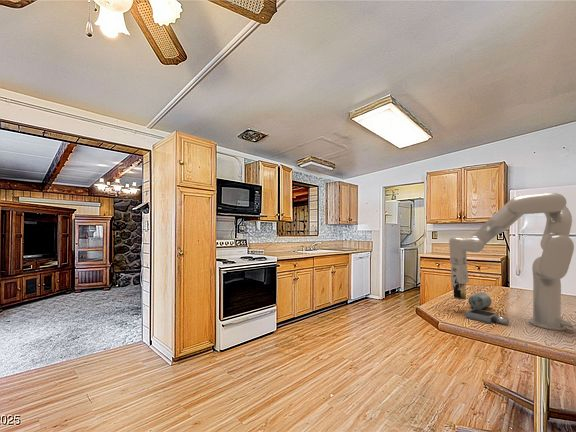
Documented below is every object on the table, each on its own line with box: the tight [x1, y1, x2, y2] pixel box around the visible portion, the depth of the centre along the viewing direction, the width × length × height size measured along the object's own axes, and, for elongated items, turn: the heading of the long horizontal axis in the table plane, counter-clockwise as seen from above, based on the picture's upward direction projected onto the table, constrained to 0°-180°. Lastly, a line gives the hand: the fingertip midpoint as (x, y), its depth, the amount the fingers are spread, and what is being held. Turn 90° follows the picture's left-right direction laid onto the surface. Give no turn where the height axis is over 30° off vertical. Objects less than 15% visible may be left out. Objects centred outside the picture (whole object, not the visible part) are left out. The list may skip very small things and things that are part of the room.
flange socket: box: [465, 308, 510, 326], centre depth 139 cm, size 16×10×3 cm
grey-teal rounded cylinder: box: [467, 292, 492, 310], centre depth 160 cm, size 14×10×10 cm
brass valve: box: [453, 282, 467, 300], centre depth 152 cm, size 5×5×8 cm
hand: (459, 296), depth 151 cm, fingers closed on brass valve, 5 cm apart
